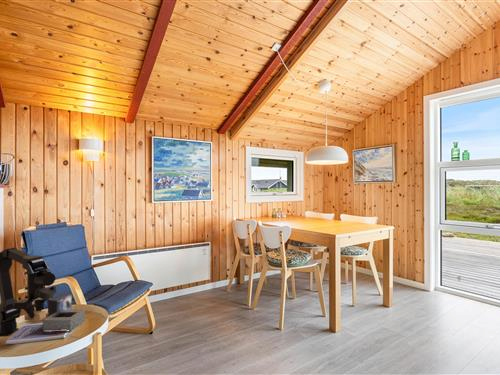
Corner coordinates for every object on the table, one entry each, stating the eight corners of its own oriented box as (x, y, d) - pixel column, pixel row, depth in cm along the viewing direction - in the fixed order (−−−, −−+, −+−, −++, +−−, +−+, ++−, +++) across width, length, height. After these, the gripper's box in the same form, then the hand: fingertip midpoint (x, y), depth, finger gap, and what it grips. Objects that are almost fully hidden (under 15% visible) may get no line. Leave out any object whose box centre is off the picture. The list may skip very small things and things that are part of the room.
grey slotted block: (42, 332, 143) (42, 320, 143) (59, 321, 155) (59, 310, 155) (70, 331, 142) (70, 319, 142) (84, 320, 154) (84, 309, 154)
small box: (57, 319, 157) (56, 300, 157) (47, 318, 158) (46, 299, 158) (72, 311, 167) (72, 293, 167) (63, 310, 168) (62, 292, 169)
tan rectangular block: (24, 320, 134) (24, 313, 134) (31, 316, 138) (31, 310, 138) (39, 320, 133) (39, 314, 133) (45, 317, 137) (45, 311, 137)
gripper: (36, 290, 126) (36, 325, 126) (64, 277, 145) (65, 308, 145) (11, 290, 126) (12, 325, 126) (43, 277, 145) (43, 308, 145)
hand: (35, 316), depth 136 cm, fingers closed on tan rectangular block, 4 cm apart
